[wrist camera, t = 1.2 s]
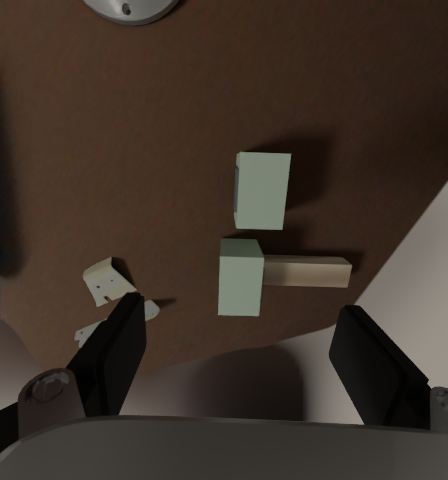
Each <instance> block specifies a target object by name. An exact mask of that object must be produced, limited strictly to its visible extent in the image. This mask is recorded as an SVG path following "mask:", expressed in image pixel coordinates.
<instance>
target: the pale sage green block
mask: <svg viewBox="0 0 448 480" xmlns="http://www.w3.org/2000/svg"><path fill="white" fill-rule="evenodd" d="M290 160H291V154H281V153H254V152H240V153H238V154H237V163H236V165H237V166H238V169H235V186H234V218H235V224H236V228H240V229H270V230H282V228H283V220H284V211H285V203H286V194H287V186H288V177H289V168H290Z"/></svg>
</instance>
